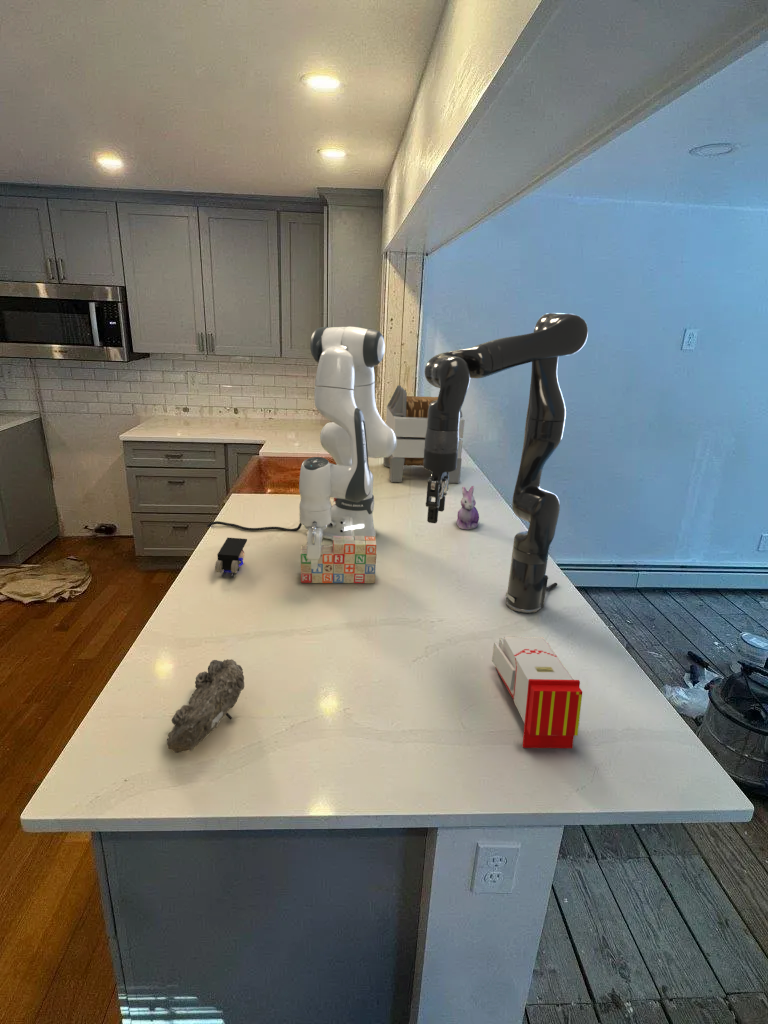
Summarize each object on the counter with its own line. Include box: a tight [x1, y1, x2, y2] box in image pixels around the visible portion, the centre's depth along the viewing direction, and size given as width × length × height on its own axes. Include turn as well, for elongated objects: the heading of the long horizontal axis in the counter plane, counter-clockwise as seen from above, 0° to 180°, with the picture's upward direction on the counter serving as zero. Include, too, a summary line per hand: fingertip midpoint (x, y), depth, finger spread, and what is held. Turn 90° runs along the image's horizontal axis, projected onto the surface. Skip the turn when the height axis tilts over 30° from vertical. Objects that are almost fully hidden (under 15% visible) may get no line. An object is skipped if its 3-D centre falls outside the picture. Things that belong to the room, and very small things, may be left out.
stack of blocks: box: [300, 536, 377, 584], centre depth 163 cm, size 21×6×12 cm, turn 95°
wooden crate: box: [383, 384, 465, 484], centre depth 268 cm, size 34×33×41 cm
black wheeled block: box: [214, 537, 248, 578], centre depth 166 cm, size 7×8×15 cm
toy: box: [491, 636, 583, 749], centre depth 115 cm, size 12×13×30 cm
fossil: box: [166, 658, 245, 754], centre depth 106 cm, size 22×10×15 cm
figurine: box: [456, 485, 480, 530], centre depth 208 cm, size 9×10×15 cm
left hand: (315, 560), depth 163 cm, fingers open, 8 cm apart
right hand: (435, 516), depth 131 cm, fingers open, 8 cm apart
